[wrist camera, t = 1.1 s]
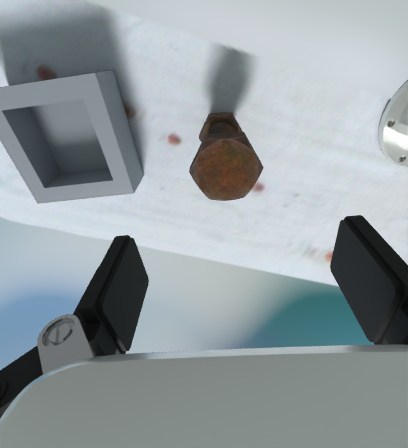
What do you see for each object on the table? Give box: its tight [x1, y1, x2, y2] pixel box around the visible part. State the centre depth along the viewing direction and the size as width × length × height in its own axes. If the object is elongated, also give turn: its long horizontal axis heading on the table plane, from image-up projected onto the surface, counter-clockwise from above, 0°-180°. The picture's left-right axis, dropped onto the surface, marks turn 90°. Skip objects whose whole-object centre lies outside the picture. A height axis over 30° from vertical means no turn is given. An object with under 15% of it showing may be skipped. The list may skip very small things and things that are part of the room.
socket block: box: [0, 70, 144, 203], centre depth 30 cm, size 13×13×6 cm
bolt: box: [189, 113, 263, 201], centre depth 25 cm, size 6×5×15 cm
